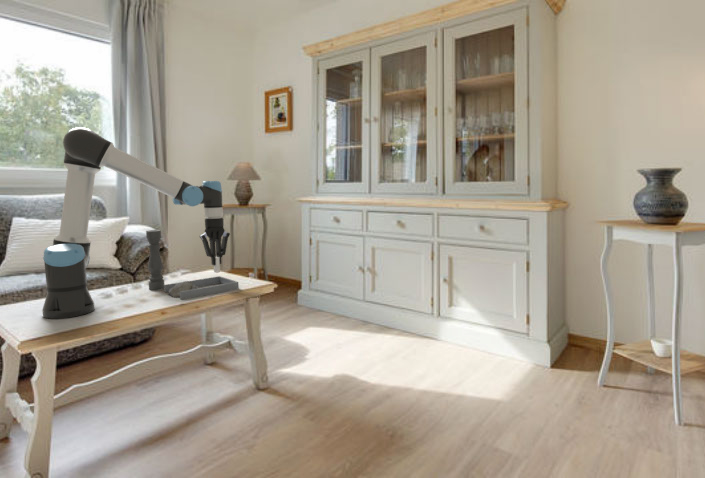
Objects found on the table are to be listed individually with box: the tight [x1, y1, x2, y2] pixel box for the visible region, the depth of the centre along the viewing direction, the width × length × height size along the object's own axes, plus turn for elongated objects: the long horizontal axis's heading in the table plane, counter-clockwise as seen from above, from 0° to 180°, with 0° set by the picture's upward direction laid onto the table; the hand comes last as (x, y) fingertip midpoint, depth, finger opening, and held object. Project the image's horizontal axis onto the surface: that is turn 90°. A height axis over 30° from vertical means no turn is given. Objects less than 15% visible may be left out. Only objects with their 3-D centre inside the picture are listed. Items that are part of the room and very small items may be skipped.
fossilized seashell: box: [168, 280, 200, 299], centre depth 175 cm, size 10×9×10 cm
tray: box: [164, 275, 240, 300], centre depth 181 cm, size 25×17×3 cm
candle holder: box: [145, 229, 165, 291], centre depth 184 cm, size 6×6×25 cm
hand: (217, 272), depth 185 cm, fingers closed
